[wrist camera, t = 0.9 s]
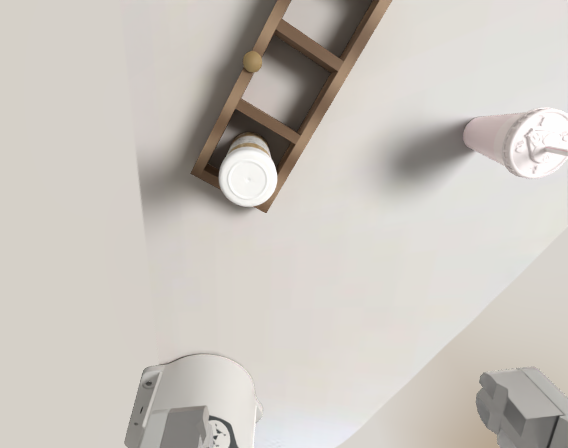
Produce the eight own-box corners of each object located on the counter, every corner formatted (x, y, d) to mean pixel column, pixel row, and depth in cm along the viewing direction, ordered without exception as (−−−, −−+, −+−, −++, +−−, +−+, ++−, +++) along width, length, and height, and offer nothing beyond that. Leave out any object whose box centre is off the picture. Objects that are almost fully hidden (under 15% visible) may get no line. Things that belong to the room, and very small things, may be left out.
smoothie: (477, 170, 42) (577, 206, 29) (440, 140, 40) (529, 163, 27) (516, 125, 40) (640, 142, 27) (479, 92, 39) (594, 92, 26)
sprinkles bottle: (243, 178, 40) (239, 218, 28) (221, 144, 38) (205, 170, 26) (277, 158, 40) (288, 189, 27) (256, 122, 38) (257, 138, 25)
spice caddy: (265, 203, 41) (266, 214, 38) (192, 164, 39) (186, 172, 35) (387, -6, 35) (403, -17, 31) (308, -68, 32) (315, -88, 29)
